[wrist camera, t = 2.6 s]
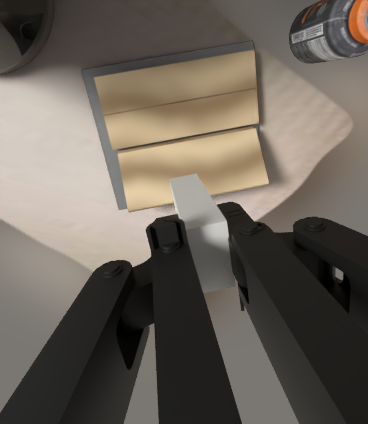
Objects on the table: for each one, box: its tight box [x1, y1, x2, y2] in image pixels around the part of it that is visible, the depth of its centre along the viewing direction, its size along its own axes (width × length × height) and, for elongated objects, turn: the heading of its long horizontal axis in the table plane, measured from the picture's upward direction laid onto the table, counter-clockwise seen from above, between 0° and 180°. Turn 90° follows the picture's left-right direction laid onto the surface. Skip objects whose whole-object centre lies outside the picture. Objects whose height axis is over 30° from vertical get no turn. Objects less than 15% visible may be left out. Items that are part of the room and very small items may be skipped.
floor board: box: [94, 50, 259, 150], centre depth 35 cm, size 8×18×1 cm, turn 100°
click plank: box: [118, 126, 269, 212], centre depth 36 cm, size 8×17×1 cm, turn 99°
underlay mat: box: [81, 41, 259, 210], centre depth 37 cm, size 17×20×1 cm
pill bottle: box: [289, 0, 368, 63], centre depth 30 cm, size 6×6×11 cm
